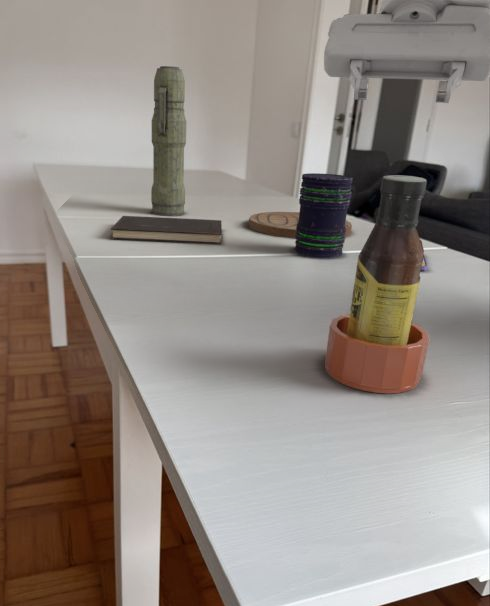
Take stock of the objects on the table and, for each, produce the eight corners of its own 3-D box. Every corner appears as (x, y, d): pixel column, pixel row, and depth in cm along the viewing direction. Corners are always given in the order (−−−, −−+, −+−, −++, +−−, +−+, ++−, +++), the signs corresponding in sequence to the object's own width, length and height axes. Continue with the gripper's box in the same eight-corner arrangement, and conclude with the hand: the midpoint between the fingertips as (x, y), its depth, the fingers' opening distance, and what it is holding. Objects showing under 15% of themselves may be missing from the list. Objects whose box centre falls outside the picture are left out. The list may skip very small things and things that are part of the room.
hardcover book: (221, 244, 115) (221, 233, 114) (111, 239, 114) (110, 228, 113) (220, 229, 129) (221, 219, 128) (123, 225, 129) (123, 215, 128)
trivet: (339, 221, 147) (340, 214, 146) (361, 241, 124) (362, 232, 123) (246, 217, 147) (247, 209, 146) (250, 236, 124) (251, 227, 123)
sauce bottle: (349, 351, 63) (377, 171, 55) (405, 363, 61) (443, 176, 53) (335, 372, 58) (364, 176, 50) (396, 386, 55) (436, 182, 48)
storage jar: (287, 254, 109) (294, 175, 103) (301, 245, 117) (309, 172, 112) (336, 261, 105) (347, 180, 100) (347, 251, 114) (358, 176, 108)
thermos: (188, 210, 152) (191, 69, 139) (179, 217, 142) (182, 65, 128) (157, 208, 154) (157, 68, 140) (146, 215, 143) (145, 64, 129)
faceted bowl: (373, 348, 66) (380, 308, 64) (440, 383, 58) (450, 339, 56) (306, 361, 61) (311, 319, 59) (368, 401, 53) (376, 354, 51)
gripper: (332, -8, 70) (312, 72, 65) (508, -10, 64) (500, 76, 59) (332, 37, 75) (313, 113, 71) (494, 38, 70) (485, 121, 65)
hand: (400, 97), depth 65 cm, fingers open, 8 cm apart
